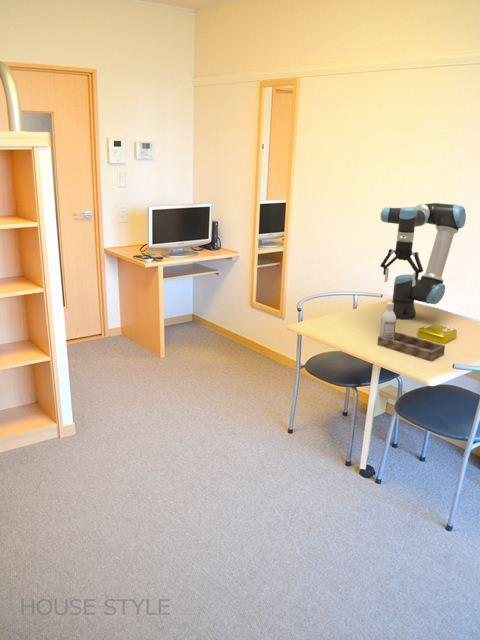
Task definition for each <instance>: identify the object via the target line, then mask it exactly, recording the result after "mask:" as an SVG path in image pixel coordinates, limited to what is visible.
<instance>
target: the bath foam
mask: <svg viewBox="0 0 480 640" xmlns="http://www.w3.org/2000/svg"><path fill="white" fill-rule="evenodd" d="M393 306H394V303H392V301H391V302H390V301H389V302H388V301H387V304H386V310H385V311H384V313H383V314H382V316H381V319H380V320H381V321H380V329H379V336H381V337H384V338H388V339H391V340H394V335H395V332H396V327H397V326H396V325H397V324H396V323H397V318H396V316H395V313H394V312H393ZM394 341H395V340H394Z"/></svg>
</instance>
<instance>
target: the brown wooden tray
mask: <svg viewBox="0 0 480 640" xmlns="http://www.w3.org/2000/svg"><path fill="white" fill-rule="evenodd" d="M377 346H380V347H384V348H387V349H391V350H394V351H396V352H400V353H403V354H405V355H410V356H413V357H416V358H420V359H423V360H426V361H429V362H432V361H434V360H436V359H438V358H439V357H441V356H442V355H444V354H445V349H446V345H445V344H440V343H437V342H433V341H430V340H426V339H423V338H419V337H417V336H412V335H408V334H405V333H401V332H399V331H395V335H394V340H391V339H388V338H384V337H381V336H380V335H379V336H378V337H377Z"/></svg>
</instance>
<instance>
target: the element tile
mask: <svg viewBox="0 0 480 640" xmlns="http://www.w3.org/2000/svg"><path fill="white" fill-rule="evenodd" d="M457 333H458V330H457V329H455V328H451V327H448V326H443V325H441V324H436V323H428V324H426V325H424V326H421V327H419V328H417V335H416V338H420V339H423V340H427V341H430V342H434V343H438V344H441V345H445V344H447V343H449V342H451V341H453V340H455V339H457Z"/></svg>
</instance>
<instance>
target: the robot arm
mask: <svg viewBox="0 0 480 640" xmlns="http://www.w3.org/2000/svg"><path fill="white" fill-rule="evenodd" d="M466 217H467V213H466V209H465V208H464V206H463V205H458V204H452V203H450V204H449V203H438V202H435V203H434V202H432V203H423V204H418V205H416V206H409V207H408V206H407V207H406V206H405V207H390V206H389V207H386V206H385V207H383V208H382V210H381V211H380V220H381V222H383V223H387V224H394V225H395V224H396V225H398V228H397V235H396V239H397V240H396V241H395V242H396V243H395V244H396V245H395V249H393V248H389V250H388V252H387V255H386V256H385V257H384V259H383V260H382V262H381V264H380V267H381V268H383V276H384V283H387V282H388V279H389V273H390V272H389V271H390V268H389V267H390V266H391V265H392V264H393V263H394V262H395V261H396V260H401V261H407V262H408V264H410V266H411V268H412V270H413V271H414V272H413V274H400V275H397V276H396V277H394V278H395V279H394V282H393V283H394V284H393V292H392V293H393V294H392V301H391V303H394V306H393V312H394V313H395V316H396V319H397V320H398V319H400V320H411V319H415V318H416V317H417V315H416V313H417V311H416V307H415V301H417V302H420V303H426V304H428V305H429V304H430V305H437V304H439V303H440V302H441V300H443V298H444V295H445V292H446V285H445V284H444V280H443V278H442V276H443V273H444V270H445V266H446V264H447V259H448V256H449V253H450V250H451V246H452V243H453V239H454V236H455V235H456V234H457V233H458V232H459V229H463V228H464V226H465V225H466V220H467V218H466ZM426 224H429V225H433V226H435V229H436V231H437V232H436V235H435V239H434V242H433V246H432V250H431V252H430V256H429V259H428V263H427V267H426V270H425V273H424V274H423V275H421V277H420V279H419V275H420V273H423V272H424V268H423V266H422V263H421V260H420V257H419V252H418V251H416V252H415V251H414V252H413V243H414V242H413V241H414V235H415V229H416V227H421V226H424V225H426ZM393 254H395V256H394V257H393V258H392V259H391V260H390V261H389V262H388V260H389V259H390V258H391V256H392V255H393ZM411 256H413V257H414V261H415V262H414V261H413V259H412V257H411ZM387 262H388V263H387ZM386 263H387V264H386ZM415 263H416V264H415Z"/></svg>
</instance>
